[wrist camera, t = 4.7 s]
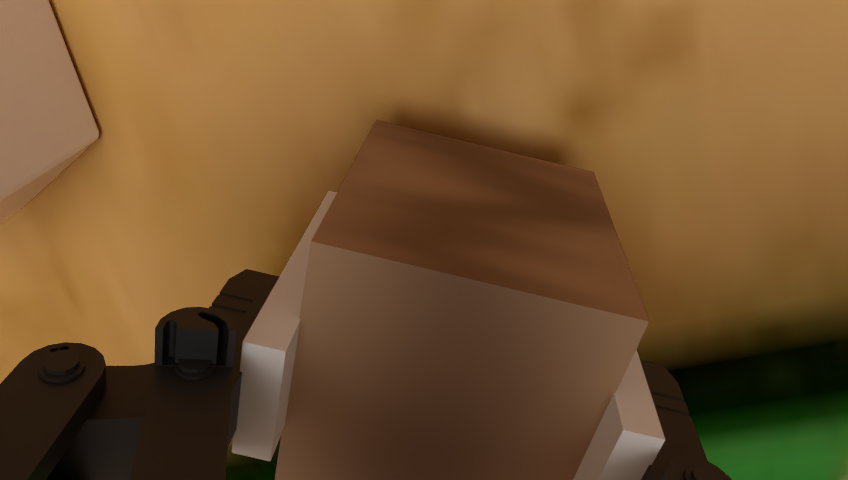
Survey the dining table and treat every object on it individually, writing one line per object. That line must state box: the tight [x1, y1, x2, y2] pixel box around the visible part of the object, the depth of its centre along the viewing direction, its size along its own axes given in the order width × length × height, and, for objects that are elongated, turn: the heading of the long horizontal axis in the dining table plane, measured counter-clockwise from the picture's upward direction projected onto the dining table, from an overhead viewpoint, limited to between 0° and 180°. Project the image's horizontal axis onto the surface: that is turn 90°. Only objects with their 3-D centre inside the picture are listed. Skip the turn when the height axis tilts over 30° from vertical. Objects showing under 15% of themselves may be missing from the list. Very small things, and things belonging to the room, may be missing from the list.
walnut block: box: [275, 120, 649, 480], centre depth 16 cm, size 6×6×7 cm
